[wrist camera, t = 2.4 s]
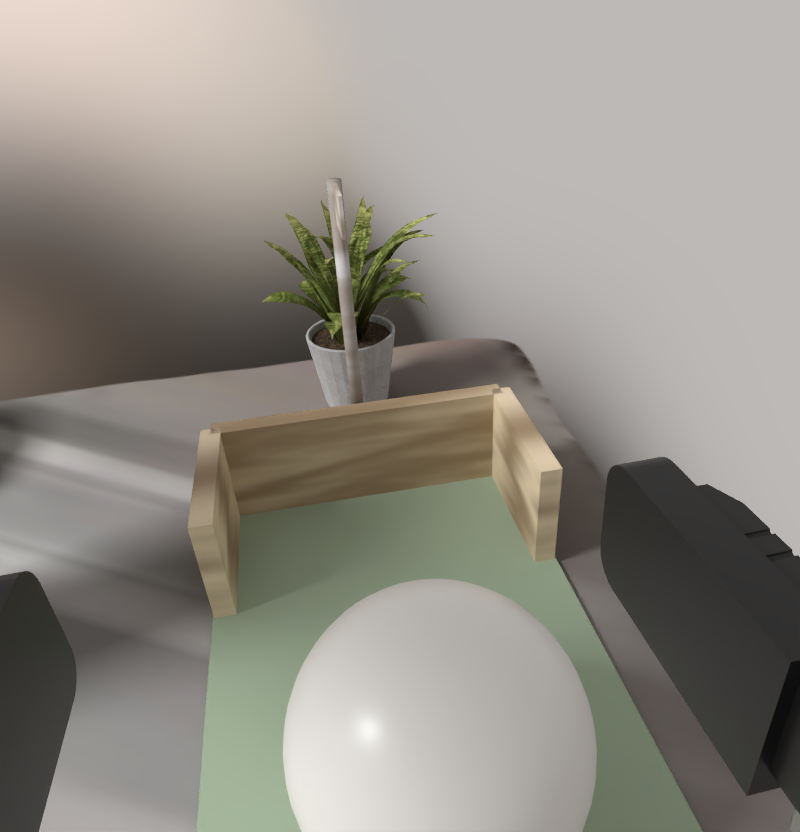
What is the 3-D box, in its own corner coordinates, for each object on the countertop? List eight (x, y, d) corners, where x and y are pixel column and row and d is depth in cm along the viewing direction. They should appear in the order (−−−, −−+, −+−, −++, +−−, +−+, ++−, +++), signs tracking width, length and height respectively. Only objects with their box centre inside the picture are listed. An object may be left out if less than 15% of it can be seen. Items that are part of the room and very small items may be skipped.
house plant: (462, 446, 49) (460, 226, 41) (274, 464, 49) (231, 244, 40) (436, 358, 61) (431, 174, 53) (285, 372, 61) (255, 188, 52)
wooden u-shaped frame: (554, 558, 39) (586, 210, 28) (214, 618, 36) (108, 263, 26) (498, 454, 48) (506, 160, 37) (223, 497, 45) (147, 196, 35)
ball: (433, 1081, 20) (418, 922, 15) (253, 805, 28) (195, 626, 22) (640, 827, 26) (688, 640, 20) (446, 655, 33) (440, 481, 28)
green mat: (747, 922, 24) (750, 918, 23) (181, 1066, 21) (179, 1063, 21) (503, 465, 47) (504, 461, 47) (221, 509, 45) (220, 505, 45)
